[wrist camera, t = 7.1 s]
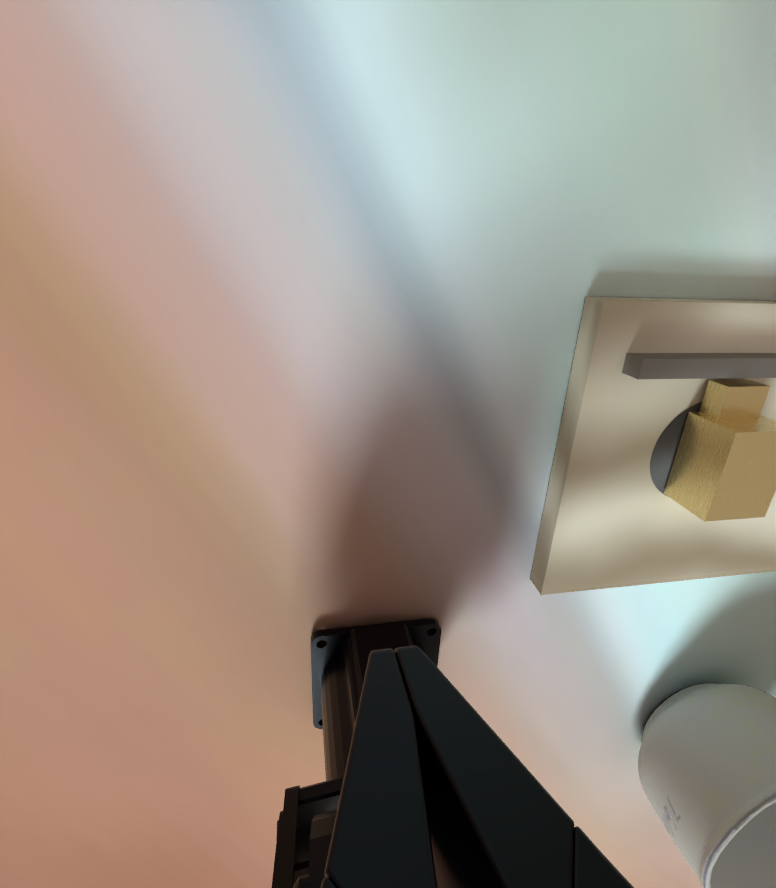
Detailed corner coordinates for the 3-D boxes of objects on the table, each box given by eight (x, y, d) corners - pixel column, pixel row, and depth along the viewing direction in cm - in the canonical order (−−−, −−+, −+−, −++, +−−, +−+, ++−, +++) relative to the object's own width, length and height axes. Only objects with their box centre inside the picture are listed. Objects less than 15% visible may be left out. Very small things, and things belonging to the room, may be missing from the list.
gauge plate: (828, 550, 28) (869, 574, 26) (529, 578, 24) (550, 609, 22) (950, 305, 22) (1014, 311, 20) (585, 296, 19) (620, 303, 17)
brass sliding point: (719, 490, 22) (764, 517, 20) (663, 493, 22) (704, 521, 20) (758, 379, 20) (814, 396, 18) (698, 380, 20) (748, 397, 18)
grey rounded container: (583, 738, 31) (671, 890, 24) (713, 629, 29) (853, 760, 22) (685, 794, 36) (782, 932, 29) (801, 707, 34) (936, 831, 27)
